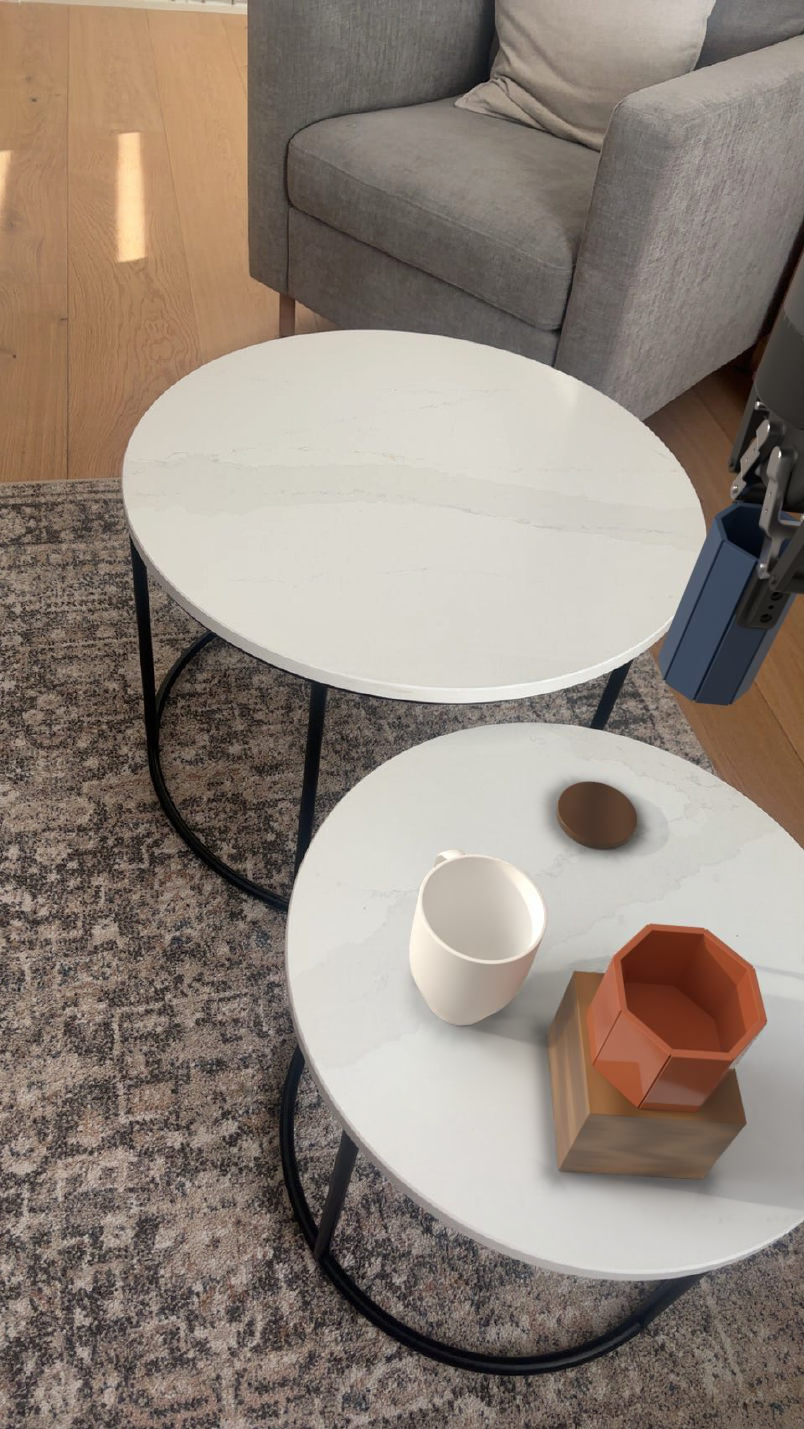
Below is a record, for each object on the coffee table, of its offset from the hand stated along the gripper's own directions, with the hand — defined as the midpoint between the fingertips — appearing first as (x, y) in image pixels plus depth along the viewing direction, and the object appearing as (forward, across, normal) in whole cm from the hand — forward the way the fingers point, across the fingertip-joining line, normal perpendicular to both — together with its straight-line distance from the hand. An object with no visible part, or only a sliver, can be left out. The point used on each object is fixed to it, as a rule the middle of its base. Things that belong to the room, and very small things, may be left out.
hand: (741, 588), depth 64 cm
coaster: (+34, +10, -1) cm, 36 cm away
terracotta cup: (+25, -16, 0) cm, 30 cm away
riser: (+34, -16, 0) cm, 38 cm away
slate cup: (+7, 0, 0) cm, 7 cm away
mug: (+34, -7, +12) cm, 37 cm away
